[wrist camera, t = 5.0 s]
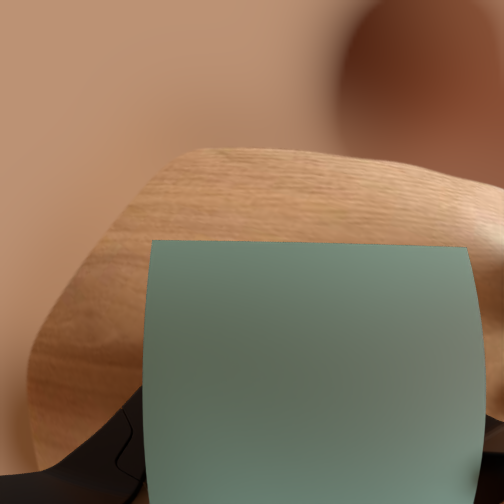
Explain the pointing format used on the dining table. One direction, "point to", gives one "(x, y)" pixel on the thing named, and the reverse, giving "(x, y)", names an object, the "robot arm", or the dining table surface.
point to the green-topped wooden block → (312, 374)
